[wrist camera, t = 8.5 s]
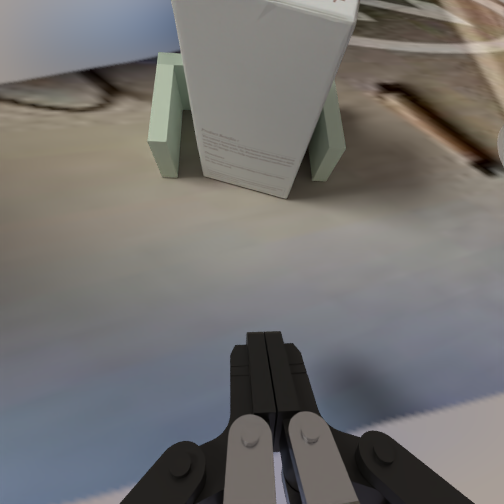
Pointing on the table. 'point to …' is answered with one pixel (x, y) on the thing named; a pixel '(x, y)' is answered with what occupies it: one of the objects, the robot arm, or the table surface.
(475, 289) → the table surface
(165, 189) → the table surface
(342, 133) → the holder
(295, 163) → the supplement box
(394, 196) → the table surface
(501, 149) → the monster figurine
